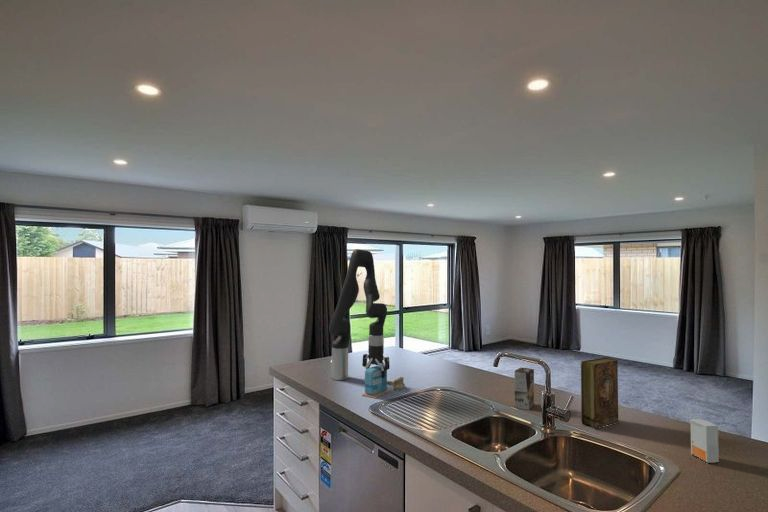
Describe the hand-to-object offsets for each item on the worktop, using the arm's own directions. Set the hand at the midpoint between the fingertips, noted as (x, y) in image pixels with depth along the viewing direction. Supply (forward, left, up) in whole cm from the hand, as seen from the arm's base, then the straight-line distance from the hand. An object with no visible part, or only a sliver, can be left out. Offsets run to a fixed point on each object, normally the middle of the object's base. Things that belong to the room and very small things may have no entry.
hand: (375, 376), depth 189 cm
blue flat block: (0, 0, -8) cm, 8 cm away
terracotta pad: (0, 0, -8) cm, 8 cm away
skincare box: (+126, -5, -8) cm, 127 cm away
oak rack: (-1, +12, -8) cm, 15 cm away
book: (+97, +12, -8) cm, 98 cm away
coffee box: (+67, +18, -8) cm, 70 cm away
